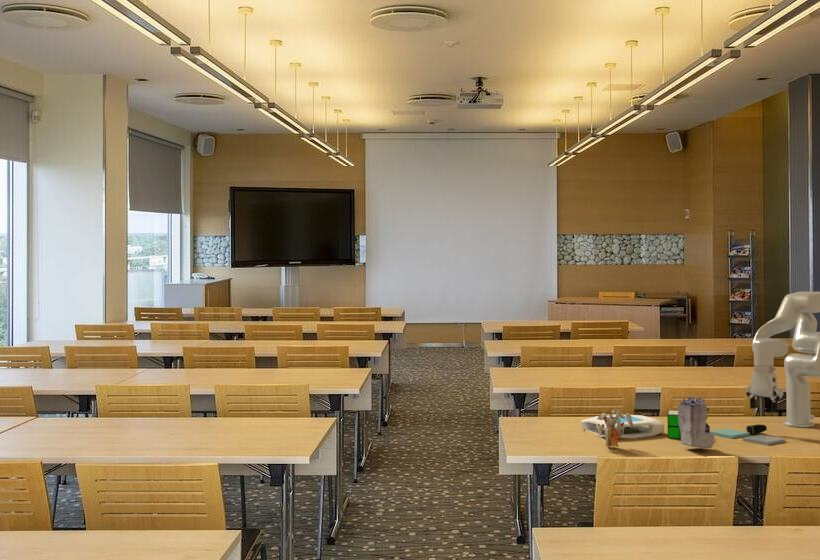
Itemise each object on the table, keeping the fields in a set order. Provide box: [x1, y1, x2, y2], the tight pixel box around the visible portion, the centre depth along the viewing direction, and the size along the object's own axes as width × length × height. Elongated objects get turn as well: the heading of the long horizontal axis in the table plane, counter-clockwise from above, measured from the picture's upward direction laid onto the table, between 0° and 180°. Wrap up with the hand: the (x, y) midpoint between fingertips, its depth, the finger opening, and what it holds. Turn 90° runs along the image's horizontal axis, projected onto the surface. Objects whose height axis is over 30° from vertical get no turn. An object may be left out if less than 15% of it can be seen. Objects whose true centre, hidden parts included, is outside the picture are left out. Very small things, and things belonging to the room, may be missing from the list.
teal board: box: [709, 428, 751, 440], centre depth 339 cm, size 12×11×1 cm
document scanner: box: [580, 414, 665, 439], centre depth 344 cm, size 21×28×6 cm
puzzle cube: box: [667, 410, 681, 440], centre depth 335 cm, size 10×10×10 cm
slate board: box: [742, 434, 786, 446], centre depth 325 cm, size 12×11×1 cm
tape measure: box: [745, 424, 768, 435], centre depth 339 cm, size 7×7×4 cm
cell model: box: [677, 396, 715, 449], centre depth 313 cm, size 13×11×20 cm
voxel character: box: [597, 408, 633, 448], centre depth 314 cm, size 11×10×15 cm
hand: (763, 410), depth 338 cm, fingers open, 9 cm apart
